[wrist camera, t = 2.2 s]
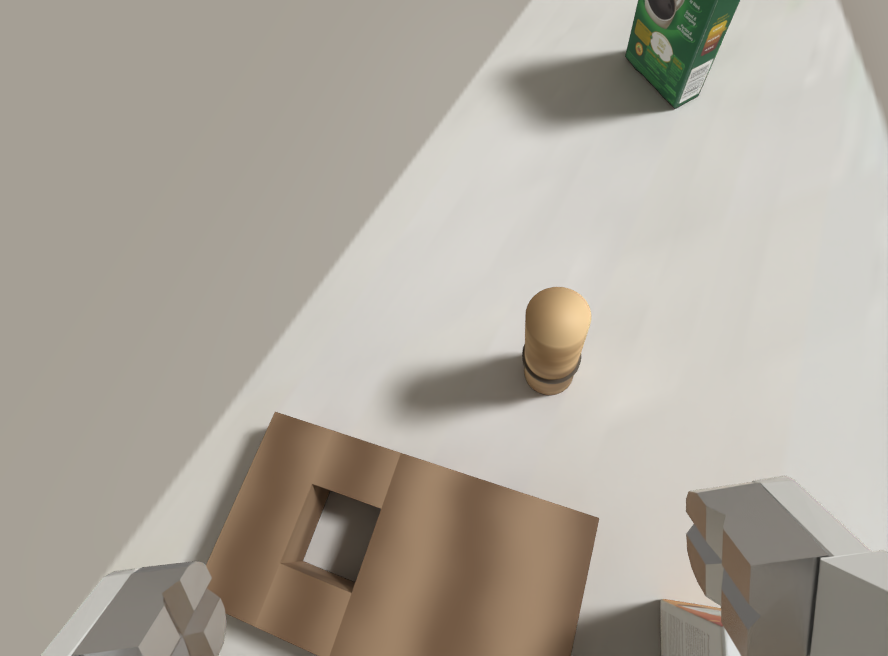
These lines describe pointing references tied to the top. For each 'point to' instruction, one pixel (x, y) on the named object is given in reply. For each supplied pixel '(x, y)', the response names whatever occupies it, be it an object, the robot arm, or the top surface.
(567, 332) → the oak peg
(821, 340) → the top surface
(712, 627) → the small box
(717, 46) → the coffee box
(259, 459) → the walnut board
